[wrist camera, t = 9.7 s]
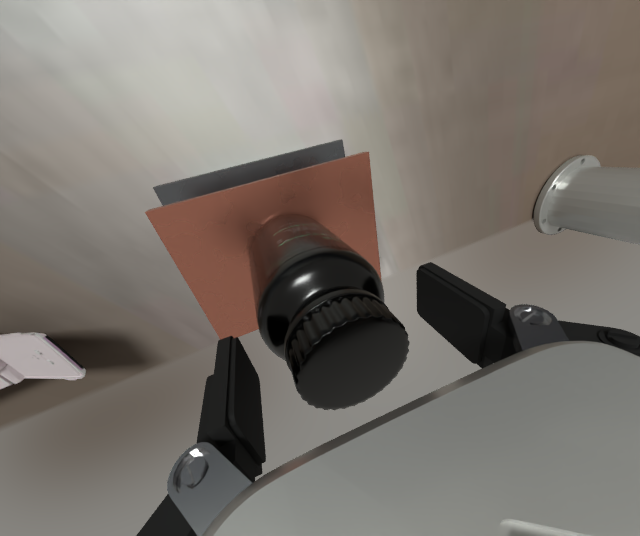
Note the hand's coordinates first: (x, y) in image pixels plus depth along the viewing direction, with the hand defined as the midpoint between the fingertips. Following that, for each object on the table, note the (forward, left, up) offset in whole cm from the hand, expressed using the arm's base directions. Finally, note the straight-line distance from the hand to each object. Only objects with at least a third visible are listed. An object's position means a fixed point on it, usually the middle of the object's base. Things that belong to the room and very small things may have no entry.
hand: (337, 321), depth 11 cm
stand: (0, 0, -17) cm, 17 cm away
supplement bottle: (0, 0, -9) cm, 9 cm away
